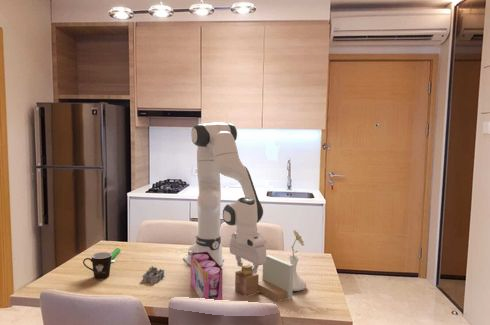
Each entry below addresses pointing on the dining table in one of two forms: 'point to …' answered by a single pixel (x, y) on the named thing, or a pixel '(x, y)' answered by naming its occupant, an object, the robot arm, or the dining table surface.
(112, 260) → the green onion
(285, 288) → the bookend
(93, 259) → the coffee mug
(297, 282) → the flower in vase
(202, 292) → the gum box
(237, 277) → the wooden block
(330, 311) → the dining table surface
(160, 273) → the grey jagged rock
